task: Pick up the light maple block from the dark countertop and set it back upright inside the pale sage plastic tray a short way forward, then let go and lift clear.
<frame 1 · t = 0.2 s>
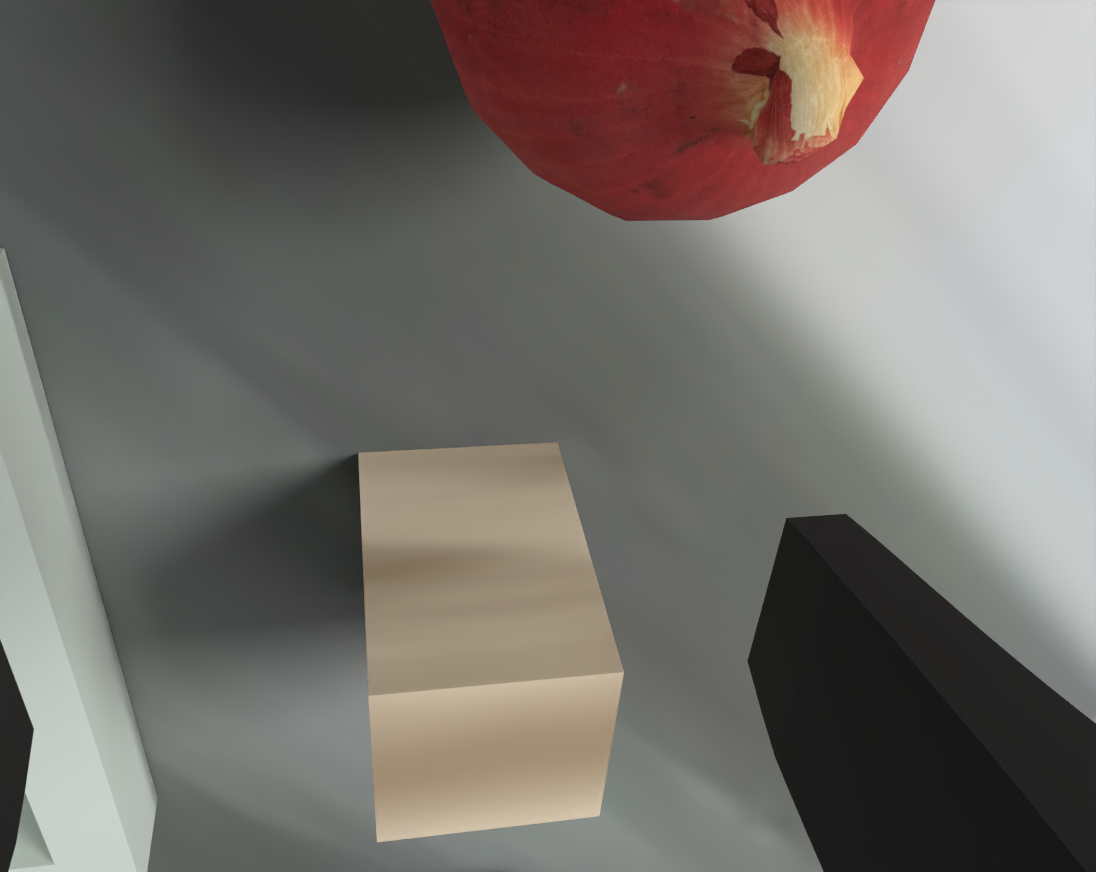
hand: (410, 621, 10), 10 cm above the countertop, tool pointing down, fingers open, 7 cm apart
maple block: (457, 521, 22), on the countertop
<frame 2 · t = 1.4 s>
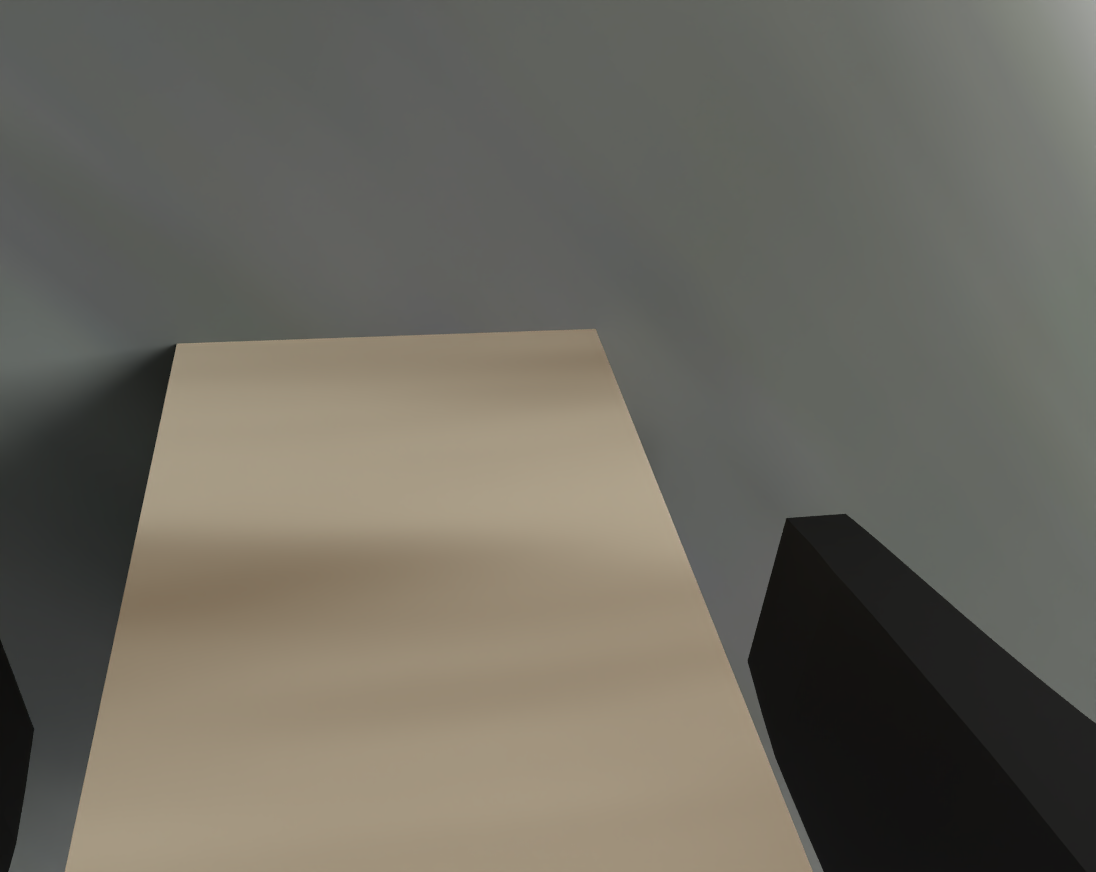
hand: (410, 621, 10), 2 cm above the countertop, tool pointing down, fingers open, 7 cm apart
maple block: (398, 493, 11), on the countertop
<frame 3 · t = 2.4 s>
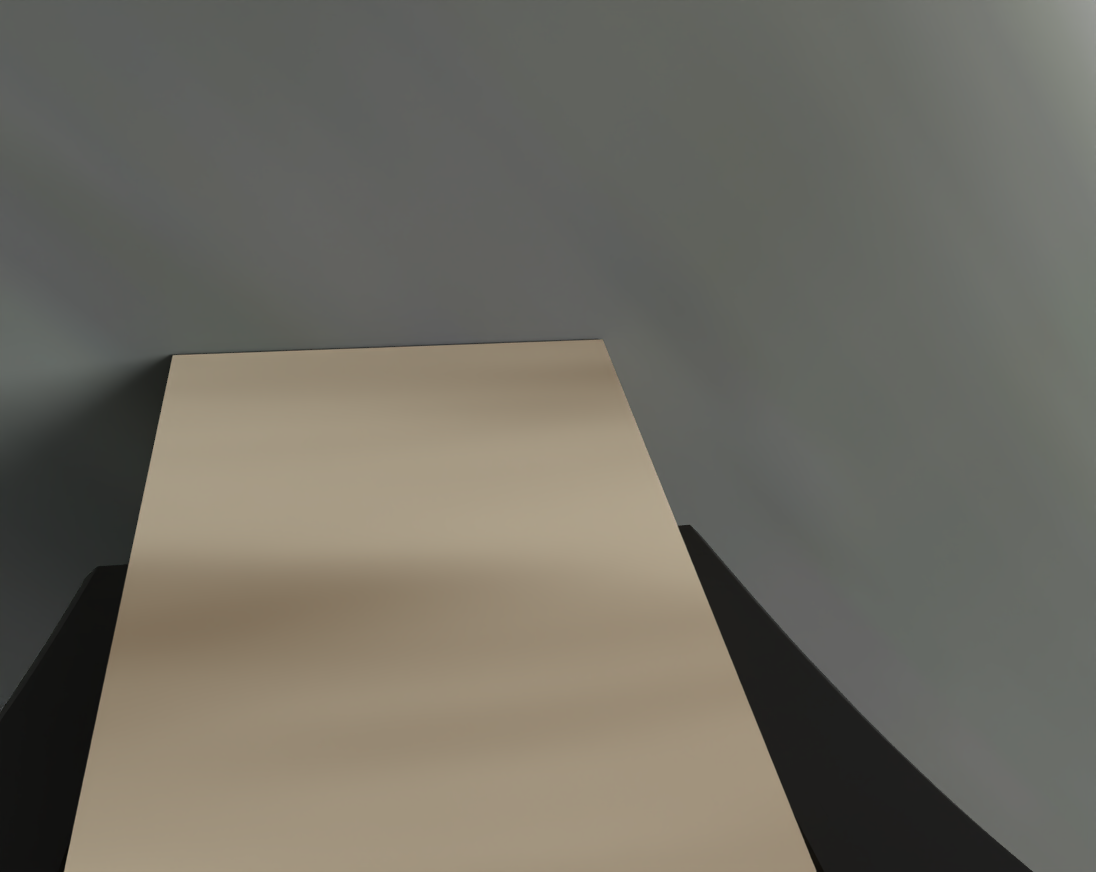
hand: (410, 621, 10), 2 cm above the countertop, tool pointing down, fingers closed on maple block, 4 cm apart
maple block: (400, 507, 11), on the countertop, touching gripper
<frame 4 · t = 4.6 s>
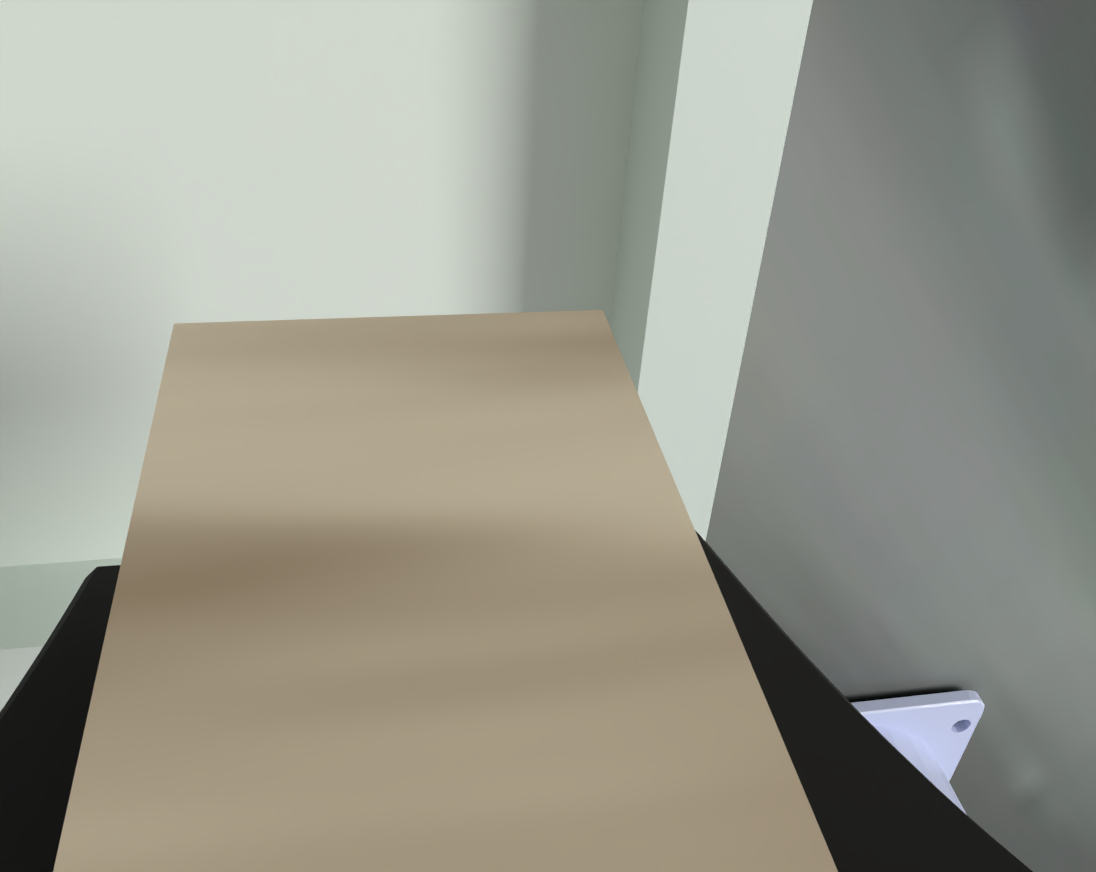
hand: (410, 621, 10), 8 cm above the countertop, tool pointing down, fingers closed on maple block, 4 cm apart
maple block: (400, 480, 11), point 7 cm above the countertop, touching gripper
tray: (235, 241, 16), on the countertop
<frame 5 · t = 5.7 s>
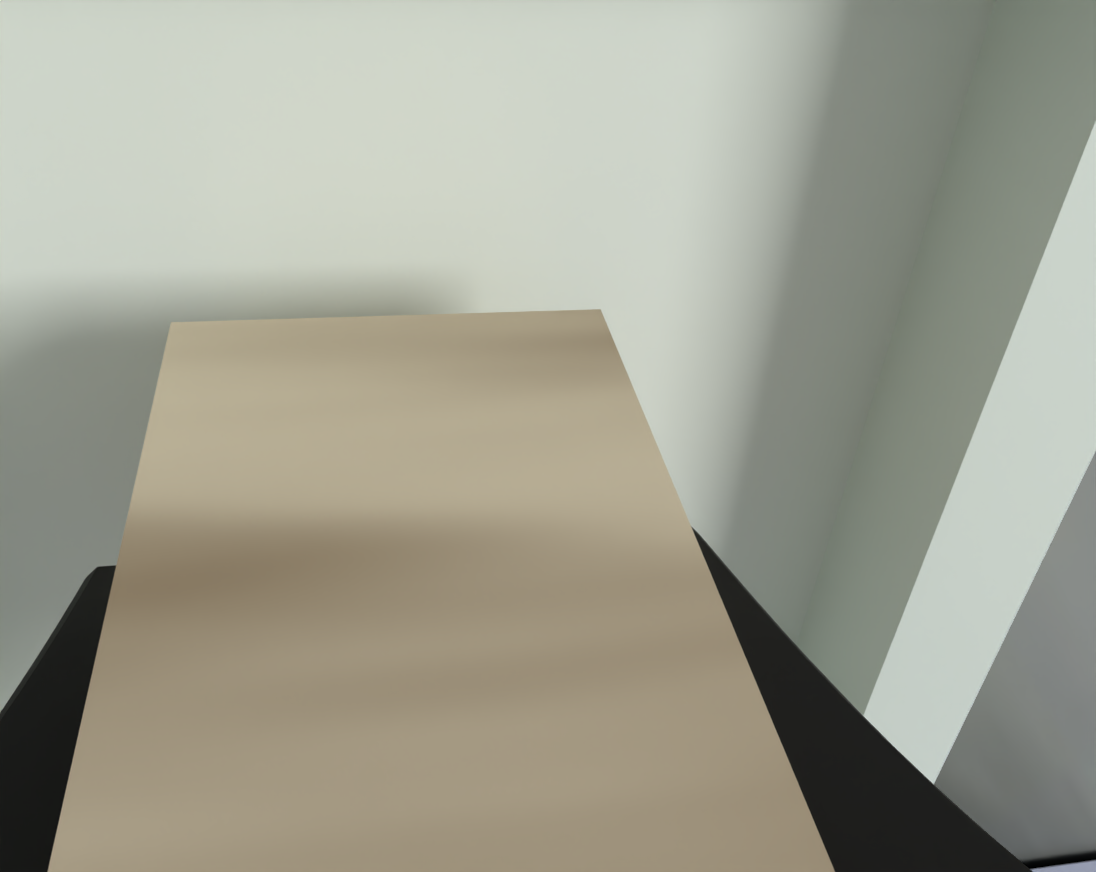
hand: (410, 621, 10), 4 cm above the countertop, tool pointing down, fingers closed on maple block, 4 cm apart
maple block: (398, 479, 11), point 2 cm above the countertop, touching gripper
tray: (392, 402, 12), on the countertop
when the fingers open (3 cm above the countertop, at t = 6.6 s): maple block stays where it is, resting on tray.
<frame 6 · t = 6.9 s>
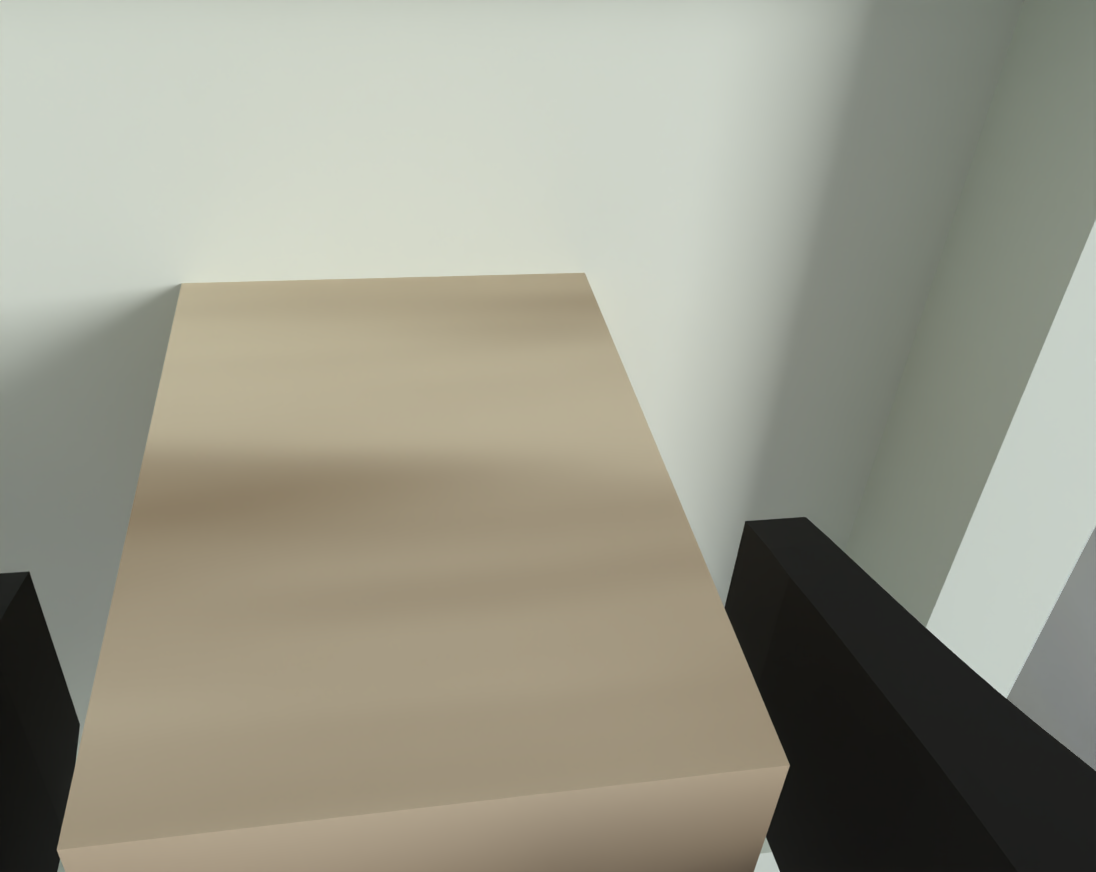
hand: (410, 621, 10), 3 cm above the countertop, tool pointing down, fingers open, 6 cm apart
maple block: (395, 436, 12), resting on tray
tray: (392, 424, 12), on the countertop
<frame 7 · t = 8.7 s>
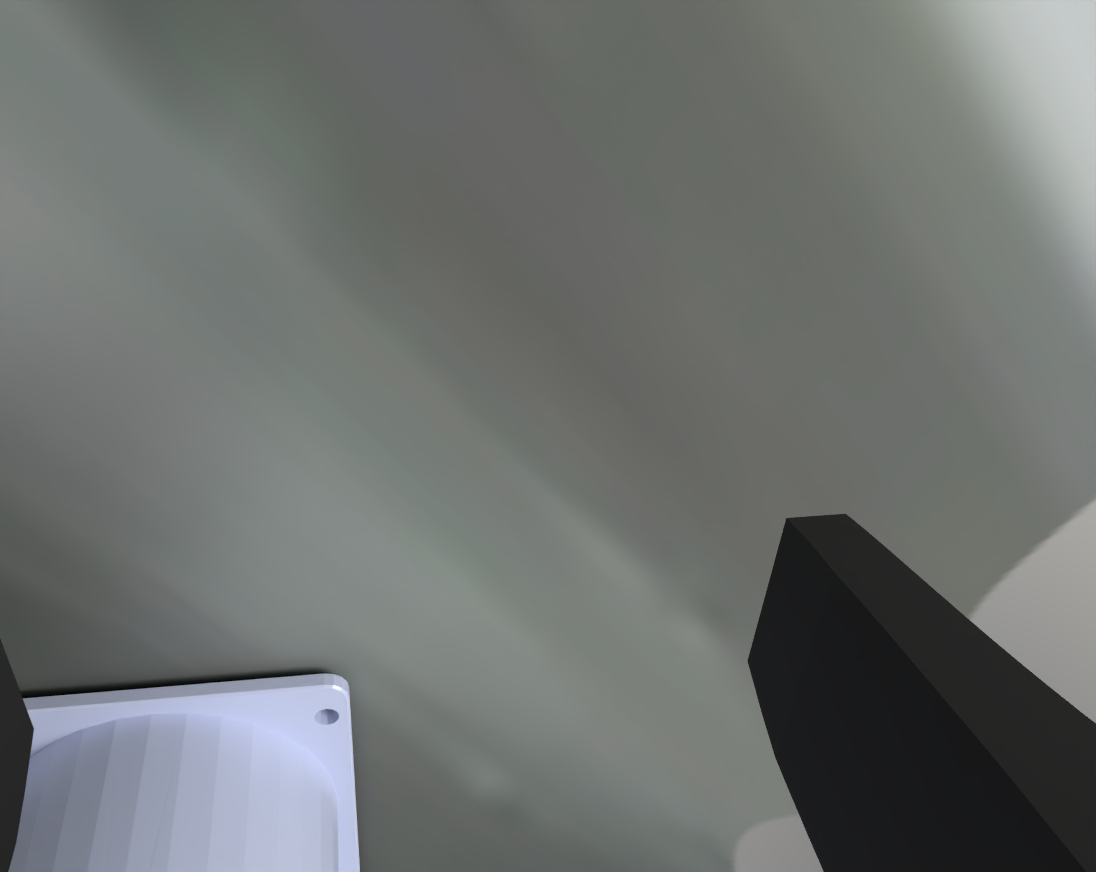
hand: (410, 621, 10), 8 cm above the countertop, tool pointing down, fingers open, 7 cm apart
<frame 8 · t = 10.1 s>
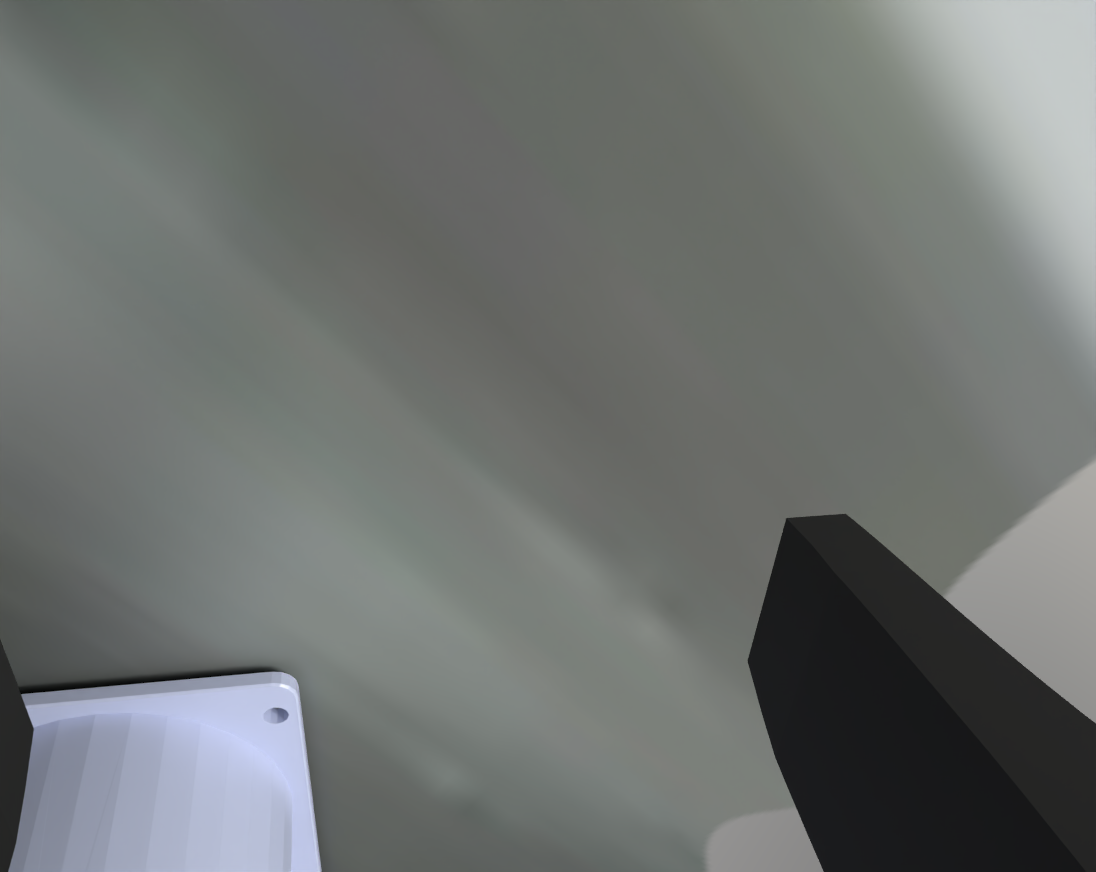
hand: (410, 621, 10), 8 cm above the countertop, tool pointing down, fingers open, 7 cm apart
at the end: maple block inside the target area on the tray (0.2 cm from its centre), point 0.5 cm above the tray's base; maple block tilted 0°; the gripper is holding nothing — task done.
